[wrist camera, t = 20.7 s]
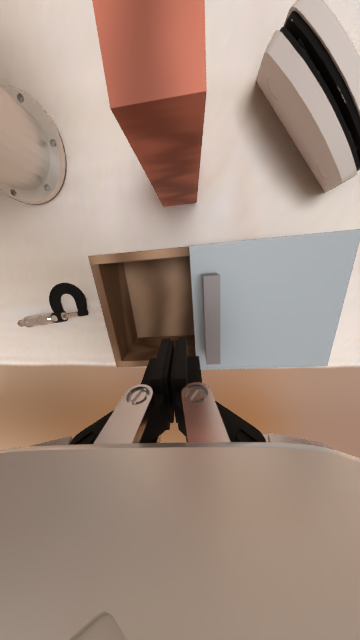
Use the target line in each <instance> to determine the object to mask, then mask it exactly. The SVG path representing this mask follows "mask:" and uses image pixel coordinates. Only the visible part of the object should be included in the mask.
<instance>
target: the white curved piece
mask: <svg viewBox="0 0 360 640" xmlns="http://www.w3.org/2000/svg"><path fill="white" fill-rule="evenodd" d="M256 82H257V84H258V85H259V87H260V89H261V90H262V92H263V94H264V95H265V97H266V98H267V100H268V102H269V103H270V105H271V106H272V108H273V110H274V111H275V113H276V115H277V116H278V118H279V119H280V121H281V123H282V124H283V126H284V127H285V129H286V131H287V132H288V134H289V136H290V137H291V139H292V140H293V142H294V144H295V145H296V147H297V149H298V150H299V152H300V153H301V155H302V157H303V158H304V160H305V161H306V163H307V165H308V166H309V168H310V170H311V171H312V173H313V174H314V176H315V178H316V179H317V181H318V182H319V184H320V186H321V187H322V189H323V191H324V192H327V191H329V190H331V189H332V188H334V187H336V186H338V185H340V184H342V183H344V182H345V181H347V180H349V179H350V178H352V177H354V176H355V175H356V173H357V171H358V170H360V57H359V55H358V53H357V51H356V49H355V47H354V45H353V43H352V41H351V40H350V38H349V37H348V35H347V33H346V32H345V30H344V28H343V27H342V25H341V24H340V22H339V21H338V19H337V18H336V16H335V15H334V13H333V12H332V11H331V9H330V8H329V7H328V6H327V4H326V3H325V2H324V1H323V0H297V1H296V2H295V3H294V5H293V6H292V7H291V8H290V10H289V13H288V15H287V18H286V21H285V23H284V26H283V27H282V28H281V30H280V31H279V30H277V31H275V33H274V35H273V37H272V39H271V41H270V43H269V45H268V47H267V49H266V51H265V53H264V56H263V59H262V62H261V66H260V69H259V72H258V76H257V79H256Z"/></svg>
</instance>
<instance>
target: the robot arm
mask: <svg viewBox="0 0 360 640" xmlns="http://www.w3.org/2000/svg"><path fill="white" fill-rule="evenodd" d="M65 168H66V162H65V153H64V148H63V143H62V141H61V138H60V135H59V132H58V131H57V129H56V127H55V125H54V123H53V121H52V120H51V118H50V117H49V116H48V114H47V113H46V112H45V111H44V110H43V108H42V107H41V106H40V105H39V104H38V103H37V102H36V101H35V100H33V99H32V98H31V97H30V96H29V95H28V94H26V93H24V92H23V91H21V90H19V89H17V88H14V87H11V86H3V85H0V189H1V190H2V191H3V192H4V193H5V194H7V195H9V196H10V197H12V198H14V199H16V200H18V201H21V202H25V203H28V204H42V203H45V202H47V201H49V200H51V199H52V198H53V197H55V195H56V194H57V193H58V192H59V190H60V188H61V186H62V184H63V180H64V176H65ZM174 411H175V417H176V423H178V428H179V430H180V431H181V432H182V433H183V434H184V435H185V436H186V441H187V443H160V442H161V434H162V433H163V432H164V431H165V430H169V428H170V423H173V422H174ZM0 640H360V458H358V457H354V456H351V455H349V454H345V453H342V452H340V451H336V450H334V449H333V448H331V447H329V446H328V445H325V444H322V443H319V442H314V441H309V440H304V439H299V438H294V437H289V436H284V435H279V434H274V433H268V435H265V434H262V433H261V432H260V431H259V430H257V429H256V428H255V427H253V426H252V425H250V424H249V423H248V422H246V421H244V420H243V419H242V418H240V417H238V416H237V415H236V414H234V413H233V412H231V411H230V410H228V409H227V408H225V407H224V406H222V405H221V404H219V403H218V402H216V401H215V400H214V397H213V394H212V392H211V390H210V388H209V387H208V386H207V385H206V384H203V383H202V378H201V369H200V360H199V356H188V349H187V338H186V337H185V338H178V340H175V347H174V342H173V340H170V338H168V339H162V340H161V343H160V347H159V350H158V353H157V357H156V358H150V360H149V363H148V365H147V368H146V371H145V374H144V377H143V380H142V382H141V384H140V385H136V386H133V387H131V388H130V389H129V390H127V392H126V393H125V394H124V396H123V397H122V399H121V400H120V402H119V404H118V405H117V407H116V408H115V410H113V411H112V412H110V413H109V414H107V415H106V416H104V417H103V418H101V419H100V420H98V421H97V422H95V423H94V424H92V425H90V426H89V427H87V428H86V429H84V430H83V431H81V432H80V433H79V434H77V435H76V436H75V437H74V438H73V439H72V437H71V436H69V437H66V438H61V439H57V440H53V441H49V442H45V443H41V444H37V445H32V446H28V447H19V448H10V449H4V450H0Z"/></svg>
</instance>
